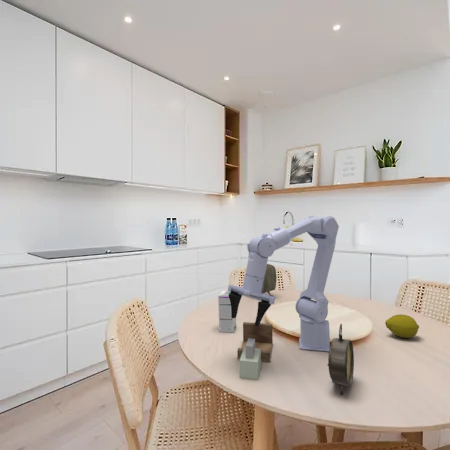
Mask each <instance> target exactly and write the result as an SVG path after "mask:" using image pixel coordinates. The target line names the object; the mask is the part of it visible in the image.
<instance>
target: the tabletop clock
mask: <svg viewBox="0 0 450 450" xmlns="http://www.w3.org/2000/svg"><path fill="white" fill-rule="evenodd" d="M276 287H277V270H276V266H275V265H273V264H270V263H267V266H266V271H265V276H264V280H263V285H262V290H261V293H264V294H266V293H267V295H270V296H273V295H272V294H271V292H273V291H275V290H276Z"/></svg>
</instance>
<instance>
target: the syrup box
mask: <svg viewBox="0 0 450 450" xmlns="http://www.w3.org/2000/svg"><path fill="white" fill-rule="evenodd" d="M230 293H231V292H229V291H228V290H222V291H221V292H220V293H219V294H218V295H217V297H218V298H217V299H218V300H217V301H218V304H217V305H218V325H219V327H218V330H219V332H222V333H235V330H236V328H237V317H236V318H231V303H230V299H229V294H230Z"/></svg>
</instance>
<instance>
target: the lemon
mask: <svg viewBox="0 0 450 450" xmlns="http://www.w3.org/2000/svg"><path fill="white" fill-rule="evenodd" d="M384 324H385V327H386V329H388V330H389V331H390V332H391V333H392V334H393V335H395V336H397V337H399V338H404V339H407V338H409V339H410V338H412V337H415V336H416V335H417V334H418V331H419V329H420V325H419V324H418V323H417V321H416V320H415V318H414V317H412V316H410V315H407V314H395V315H392V316H391V317H389V318H388V319H386V320H385V322H384Z"/></svg>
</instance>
